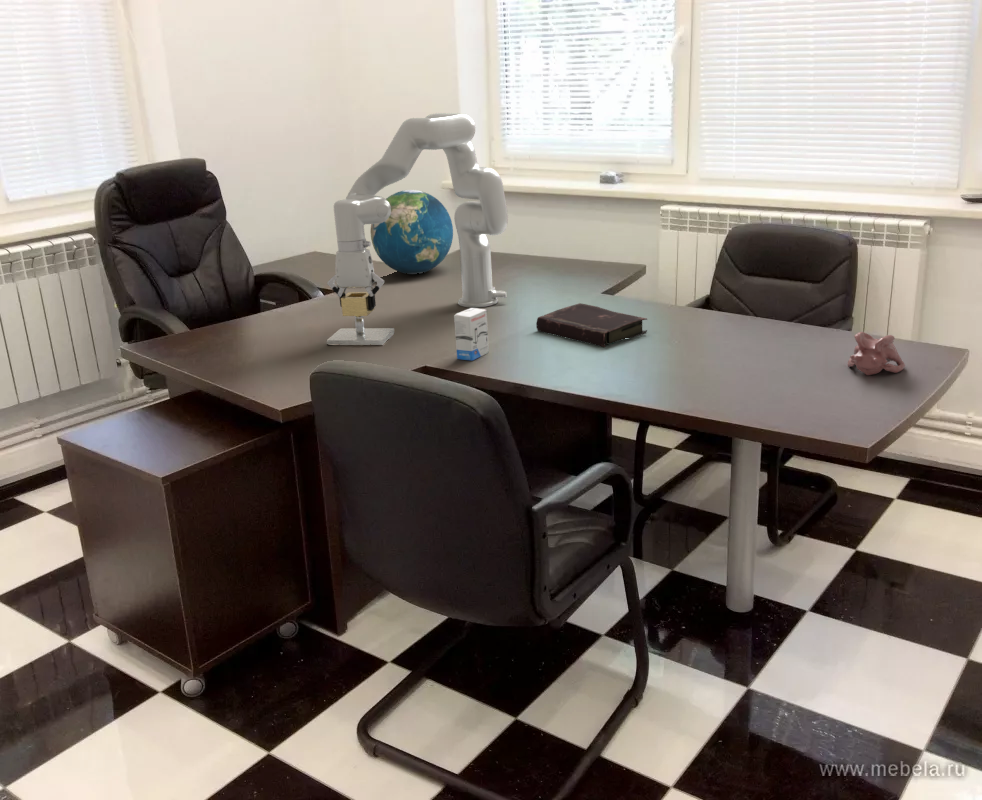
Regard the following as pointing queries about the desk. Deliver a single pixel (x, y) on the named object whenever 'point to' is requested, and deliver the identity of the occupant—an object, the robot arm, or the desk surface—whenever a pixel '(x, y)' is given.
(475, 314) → the ink box
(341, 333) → the post block
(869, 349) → the figurine
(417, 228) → the globe
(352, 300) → the tan block
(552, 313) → the diary
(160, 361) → the desk surface
